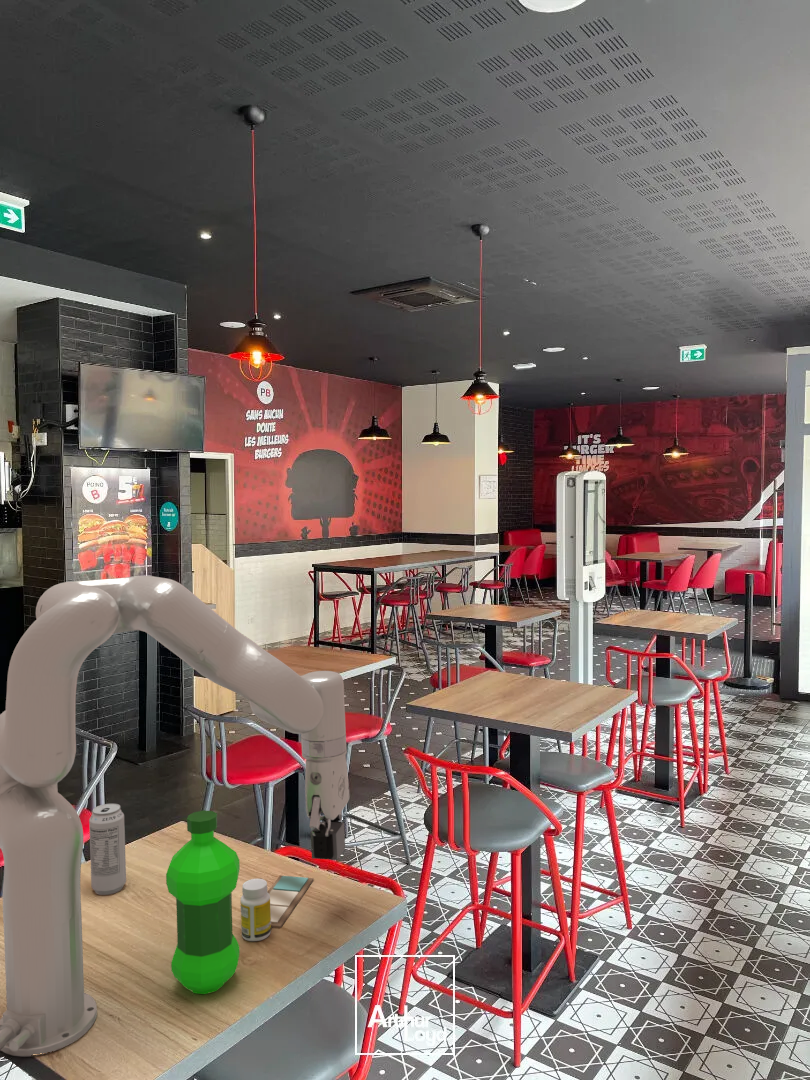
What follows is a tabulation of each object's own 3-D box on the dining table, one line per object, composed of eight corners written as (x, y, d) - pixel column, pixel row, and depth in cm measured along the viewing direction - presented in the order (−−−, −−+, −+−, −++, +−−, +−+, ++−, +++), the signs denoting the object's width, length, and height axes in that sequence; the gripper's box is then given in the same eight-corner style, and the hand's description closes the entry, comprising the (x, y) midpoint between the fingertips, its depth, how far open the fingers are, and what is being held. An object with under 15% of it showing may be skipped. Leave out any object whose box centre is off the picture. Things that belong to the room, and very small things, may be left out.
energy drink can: (132, 881, 150) (129, 802, 149) (117, 897, 144) (114, 815, 143) (101, 880, 150) (98, 802, 150) (85, 895, 144) (82, 814, 144)
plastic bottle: (219, 955, 124) (214, 797, 123) (255, 984, 117) (251, 816, 115) (158, 982, 118) (153, 815, 116) (192, 1014, 110) (187, 836, 109)
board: (280, 928, 132) (280, 924, 132) (243, 924, 133) (243, 920, 133) (313, 880, 149) (313, 876, 149) (280, 877, 150) (280, 873, 150)
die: (337, 859, 133) (336, 832, 133) (311, 858, 134) (310, 831, 134) (345, 848, 137) (343, 821, 137) (320, 846, 138) (319, 820, 138)
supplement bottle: (274, 927, 132) (273, 877, 132) (266, 942, 128) (265, 891, 127) (246, 926, 133) (244, 876, 133) (237, 941, 128) (236, 890, 128)
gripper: (329, 763, 125) (334, 876, 127) (359, 731, 142) (363, 831, 143) (284, 761, 127) (290, 872, 128) (319, 730, 144) (323, 828, 145)
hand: (328, 849), depth 136 cm, fingers closed on die, 4 cm apart
